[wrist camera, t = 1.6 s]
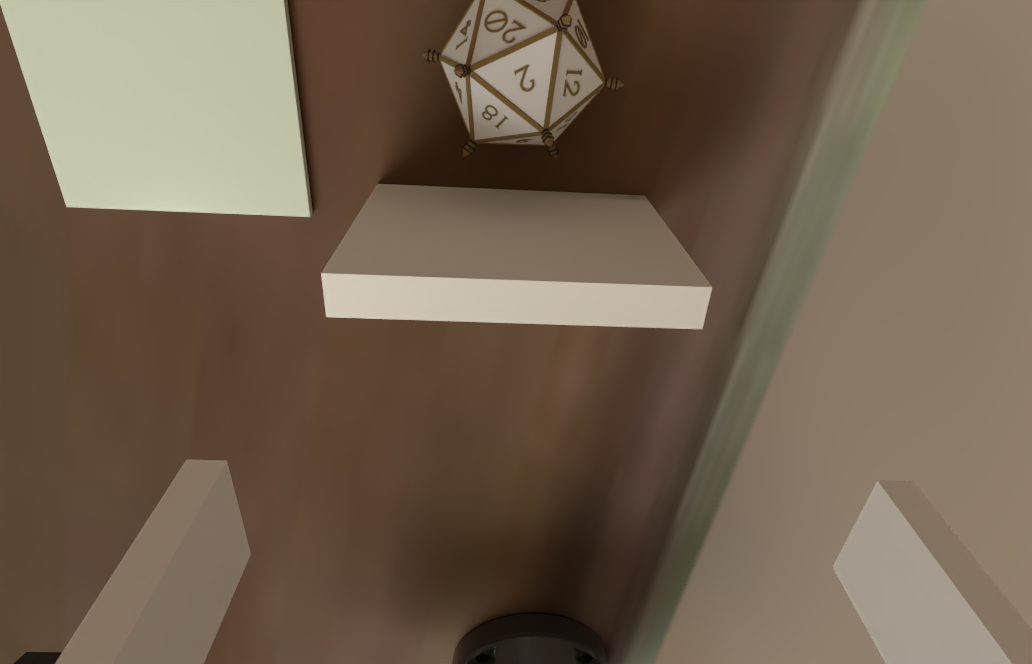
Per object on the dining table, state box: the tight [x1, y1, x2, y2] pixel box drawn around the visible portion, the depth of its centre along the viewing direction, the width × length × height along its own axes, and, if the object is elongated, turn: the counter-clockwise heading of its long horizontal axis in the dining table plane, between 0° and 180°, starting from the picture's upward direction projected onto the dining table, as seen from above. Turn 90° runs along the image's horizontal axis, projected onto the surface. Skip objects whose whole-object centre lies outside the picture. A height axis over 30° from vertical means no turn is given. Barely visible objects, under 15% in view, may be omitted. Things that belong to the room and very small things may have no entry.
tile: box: [0, 0, 313, 217], centre depth 32 cm, size 14×14×1 cm
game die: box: [422, 0, 624, 160], centre depth 29 cm, size 9×8×10 cm
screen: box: [321, 184, 712, 329], centre depth 31 cm, size 6×16×13 cm, turn 87°
